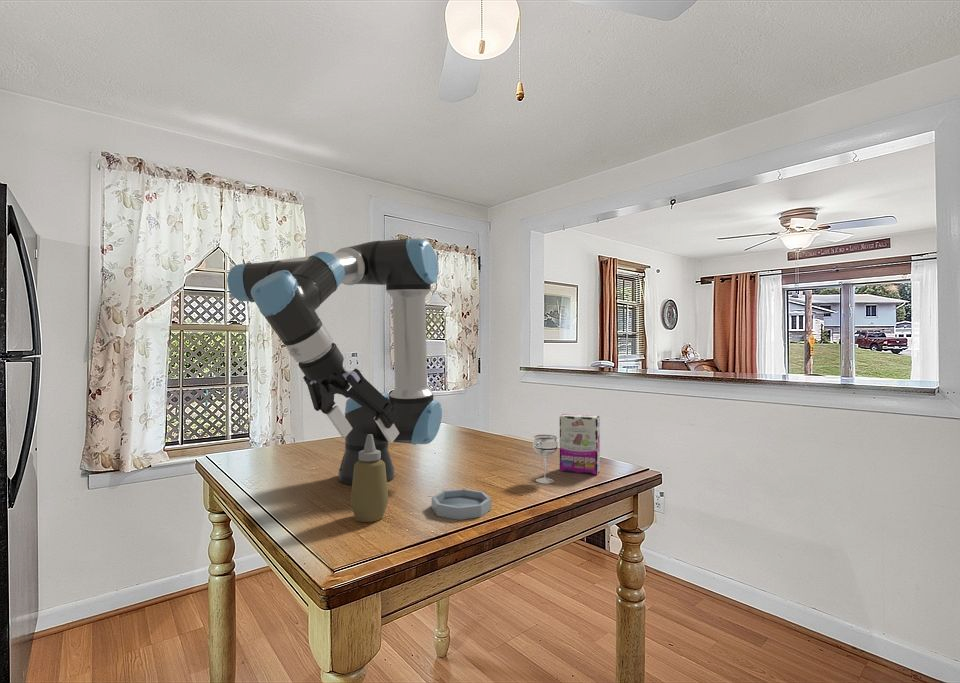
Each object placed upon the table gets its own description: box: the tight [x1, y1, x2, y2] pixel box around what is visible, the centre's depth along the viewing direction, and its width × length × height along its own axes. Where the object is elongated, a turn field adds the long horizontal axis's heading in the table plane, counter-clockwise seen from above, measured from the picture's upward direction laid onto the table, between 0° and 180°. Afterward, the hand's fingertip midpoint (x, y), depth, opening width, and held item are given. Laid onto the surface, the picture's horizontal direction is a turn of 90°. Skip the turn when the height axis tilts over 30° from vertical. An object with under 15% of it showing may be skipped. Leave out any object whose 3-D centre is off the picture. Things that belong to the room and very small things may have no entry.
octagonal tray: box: [431, 488, 492, 521], centre depth 113 cm, size 13×13×2 cm
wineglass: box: [532, 434, 559, 484], centre depth 135 cm, size 7×7×12 cm
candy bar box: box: [559, 413, 601, 475], centre depth 145 cm, size 11×5×16 cm, turn 68°
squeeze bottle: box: [349, 434, 389, 523], centre depth 106 cm, size 8×8×18 cm
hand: (370, 435), depth 100 cm, fingers open, 13 cm apart
